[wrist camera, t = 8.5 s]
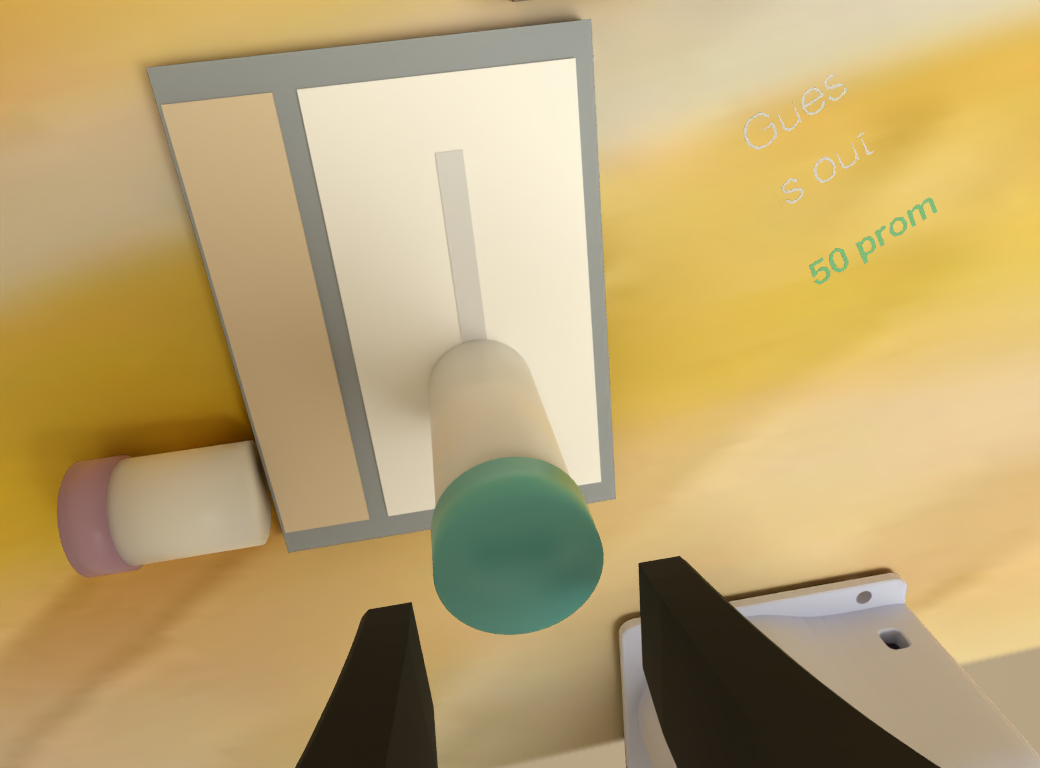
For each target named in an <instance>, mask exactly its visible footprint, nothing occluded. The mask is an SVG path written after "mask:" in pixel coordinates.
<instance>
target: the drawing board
mask: <svg viewBox="0 0 1040 768" xmlns="http://www.w3.org/2000/svg"><path fill="white" fill-rule="evenodd" d="M146 69H147V72H148V75H149V79H150V82H151V86H152V89H153V92H154V96H155V99H156V103H157V106H158V110H159V113H160V116H161V120H162V123H163V127H164V130H165V133H166V137H167V140H168V144H169V147H170V150H171V154H172V157H173V161H174V164H175V167H176V171H177V174H178V178H179V181H180V185H181V188H182V191H183V195H184V198H185V202H186V205H187V208H188V212H189V215H190V219H191V222H192V225H193V229H194V232H195V236H196V239H197V242H198V246H199V249H200V253H201V256H202V260H203V263H204V266H205V270H206V273H207V277H208V280H209V283H210V287H211V290H212V294H213V297H214V300H215V304H216V307H217V311H218V314H219V317H220V321H221V324H222V328H223V331H224V334H225V338H226V341H227V345H228V348H229V352H230V355H231V358H232V362H233V365H234V369H235V372H236V375H237V379H238V382H239V386H240V389H241V392H242V396H243V399H244V403H245V406H246V409H247V413H248V416H249V420H250V423H251V427H252V430H253V433H254V437H255V440H256V444H257V447H258V450H259V454H260V457H261V461H262V464H263V467H264V471H265V474H266V478H267V481H268V484H269V488H270V491H271V495H272V498H273V501H274V505H275V508H276V512H277V515H278V519H279V522H280V525H281V529H282V532H283V536H284V539H285V542H286V546H287V549H288V553H289V552H295V551H301V550H307V549H313V548H319V547H325V546H331V545H338V544H344V543H350V542H356V541H362V540H368V539H374V538H380V537H386V536H392V535H398V534H405V533H411V532H417V531H423V530H429V529H431V522H432V516H433V512H434V509H435V491H434V474H433V457H432V440H431V423H430V406H429V380H430V376H431V373H432V371H433V369H434V367H435V365H436V363H437V362H438V361H439V359H440V358H441V357H442V356H443V355H444V354H445V353H446V352H448V351H449V350H450V349H452V348H453V347H455V346H457V345H459V344H462V343H465V342H467V341H472V340H481V339H483V340H493V341H498V342H501V343H503V344H506V345H508V346H510V347H511V348H513V349H514V350H516V351H517V352H518V353H519V354H520V355H521V356H522V357H523V358H524V360H525V361H526V363H527V365H528V367H529V369H530V371H531V374H532V377H533V379H534V382H535V385H536V387H537V390H538V393H539V395H540V398H541V400H542V403H543V406H544V408H545V411H546V414H547V416H548V419H549V422H550V424H551V427H552V430H553V432H554V435H555V438H556V440H557V443H558V446H559V448H560V451H561V454H562V456H563V459H564V461H565V464H566V467H567V469H568V472H569V475H570V477H571V478H572V479H573V480H574V481H575V483H576V484H577V485H578V487H579V488H580V490H581V492H582V494H583V496H584V498H585V501H586V504H587V503H593V502H600V501H606V500H612V499H616V493H615V474H614V454H613V435H612V416H611V396H610V377H609V357H608V338H607V318H606V299H605V279H604V260H603V240H602V221H601V202H600V182H599V163H598V143H597V124H596V104H595V85H594V65H593V46H592V26H591V19H588V20H579V21H570V22H561V23H552V24H542V25H533V26H524V27H515V28H506V29H497V30H487V31H478V32H469V33H460V34H451V35H442V36H432V37H423V38H414V39H405V40H396V41H387V42H378V43H368V44H359V45H350V46H341V47H332V48H323V49H313V50H304V51H295V52H286V53H277V54H268V55H258V56H249V57H240V58H231V59H222V60H213V61H204V62H194V63H185V64H176V65H167V66H158V67H149V68H146Z"/></svg>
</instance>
